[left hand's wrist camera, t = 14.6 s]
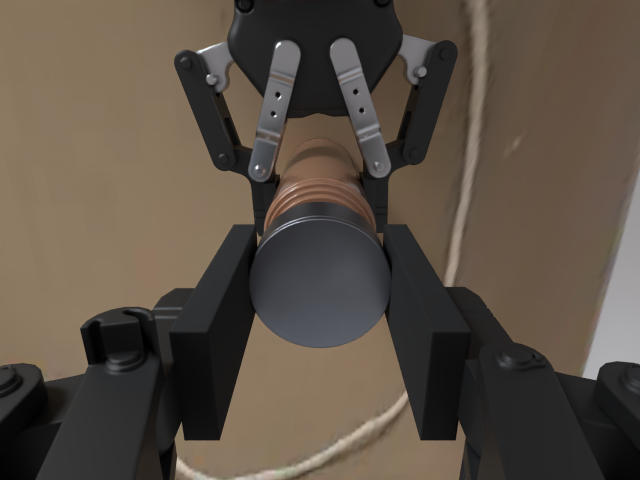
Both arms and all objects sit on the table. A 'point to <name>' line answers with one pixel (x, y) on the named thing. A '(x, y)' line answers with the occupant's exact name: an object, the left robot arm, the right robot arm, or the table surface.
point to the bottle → (320, 180)
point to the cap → (320, 276)
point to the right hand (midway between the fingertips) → (322, 238)
